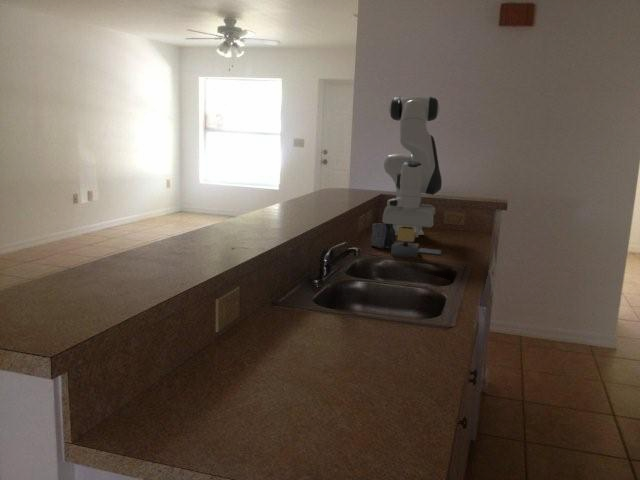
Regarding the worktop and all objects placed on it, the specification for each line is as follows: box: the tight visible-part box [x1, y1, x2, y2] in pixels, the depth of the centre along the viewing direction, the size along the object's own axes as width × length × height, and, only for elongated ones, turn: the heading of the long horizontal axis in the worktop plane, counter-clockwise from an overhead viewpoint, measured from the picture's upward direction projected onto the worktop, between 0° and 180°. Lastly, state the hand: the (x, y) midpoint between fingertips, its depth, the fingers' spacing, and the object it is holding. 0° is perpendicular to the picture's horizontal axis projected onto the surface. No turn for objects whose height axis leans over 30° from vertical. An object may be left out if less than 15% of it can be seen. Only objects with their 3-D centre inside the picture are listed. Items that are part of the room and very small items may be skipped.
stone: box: [370, 222, 397, 250], centre depth 244 cm, size 12×10×10 cm
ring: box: [396, 226, 416, 243], centre depth 231 cm, size 6×6×5 cm
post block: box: [390, 240, 420, 259], centre depth 231 cm, size 10×10×9 cm
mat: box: [418, 247, 442, 256], centre depth 239 cm, size 9×9×1 cm
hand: (406, 236), depth 231 cm, fingers closed on ring, 6 cm apart
